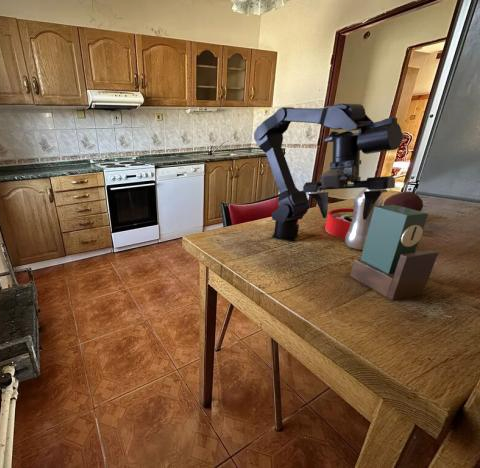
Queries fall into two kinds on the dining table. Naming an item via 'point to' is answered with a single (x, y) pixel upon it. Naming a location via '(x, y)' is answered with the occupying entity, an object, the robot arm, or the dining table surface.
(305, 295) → the dining table surface
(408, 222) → the clock
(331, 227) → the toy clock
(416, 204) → the potato
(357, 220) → the silver metal bottle
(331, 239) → the dining table surface
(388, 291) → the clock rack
